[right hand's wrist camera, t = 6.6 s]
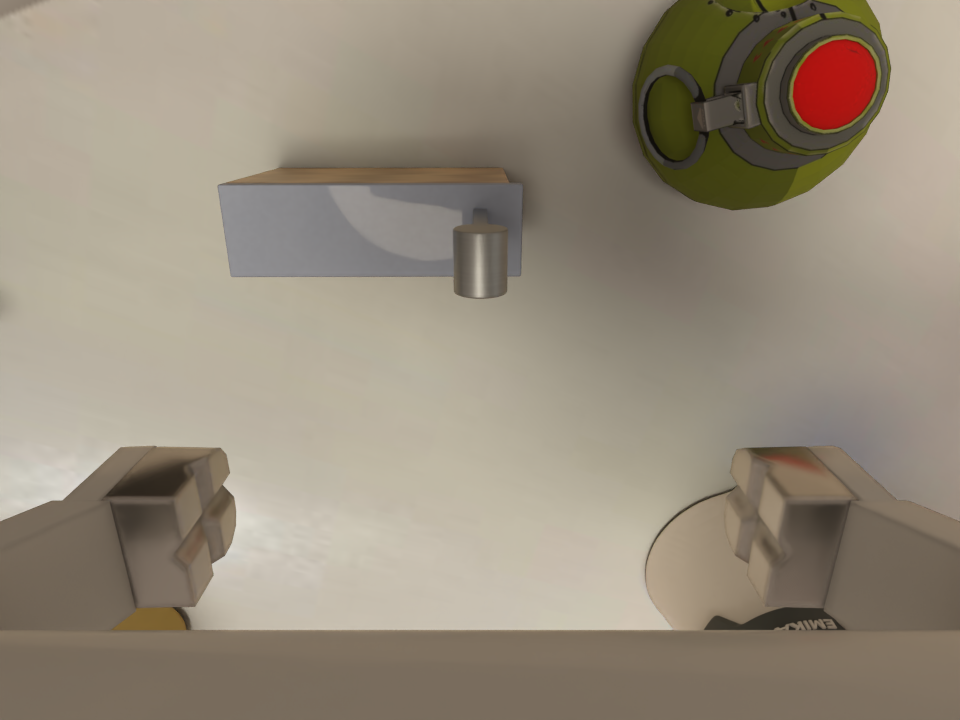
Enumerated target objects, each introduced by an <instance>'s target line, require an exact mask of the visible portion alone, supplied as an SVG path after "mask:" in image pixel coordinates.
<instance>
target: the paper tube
mask: <svg viewBox="0 0 960 720" xmlns="http://www.w3.org/2000/svg"><path fill="white" fill-rule="evenodd" d="M112 630H186V626H185V623H184V620H183V619H182V617H181V616H180V614H179V613H178V612H177V611H176V610H175V609H174V608H172V607H162V608H136V612H134V613H133V614H132V615H130V616H129V617H128V618H126V619H125V620H124V621H122V622H121V623H120V624H118V625H117V626H116V627H114V628H113V629H112Z"/></svg>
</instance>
